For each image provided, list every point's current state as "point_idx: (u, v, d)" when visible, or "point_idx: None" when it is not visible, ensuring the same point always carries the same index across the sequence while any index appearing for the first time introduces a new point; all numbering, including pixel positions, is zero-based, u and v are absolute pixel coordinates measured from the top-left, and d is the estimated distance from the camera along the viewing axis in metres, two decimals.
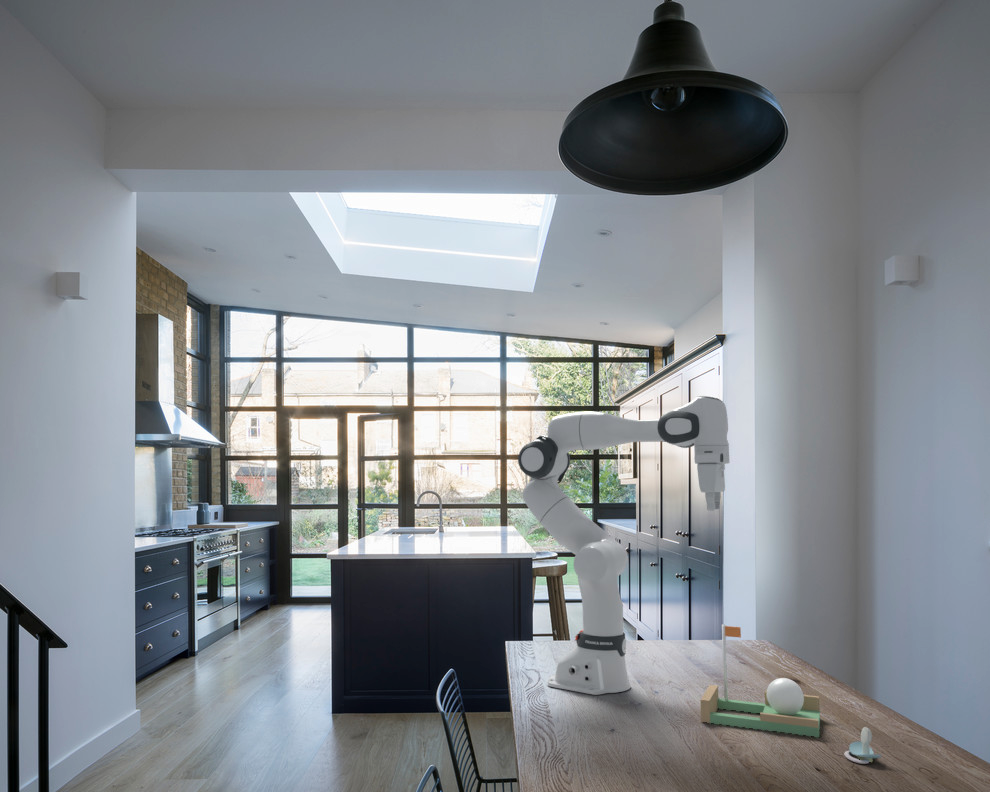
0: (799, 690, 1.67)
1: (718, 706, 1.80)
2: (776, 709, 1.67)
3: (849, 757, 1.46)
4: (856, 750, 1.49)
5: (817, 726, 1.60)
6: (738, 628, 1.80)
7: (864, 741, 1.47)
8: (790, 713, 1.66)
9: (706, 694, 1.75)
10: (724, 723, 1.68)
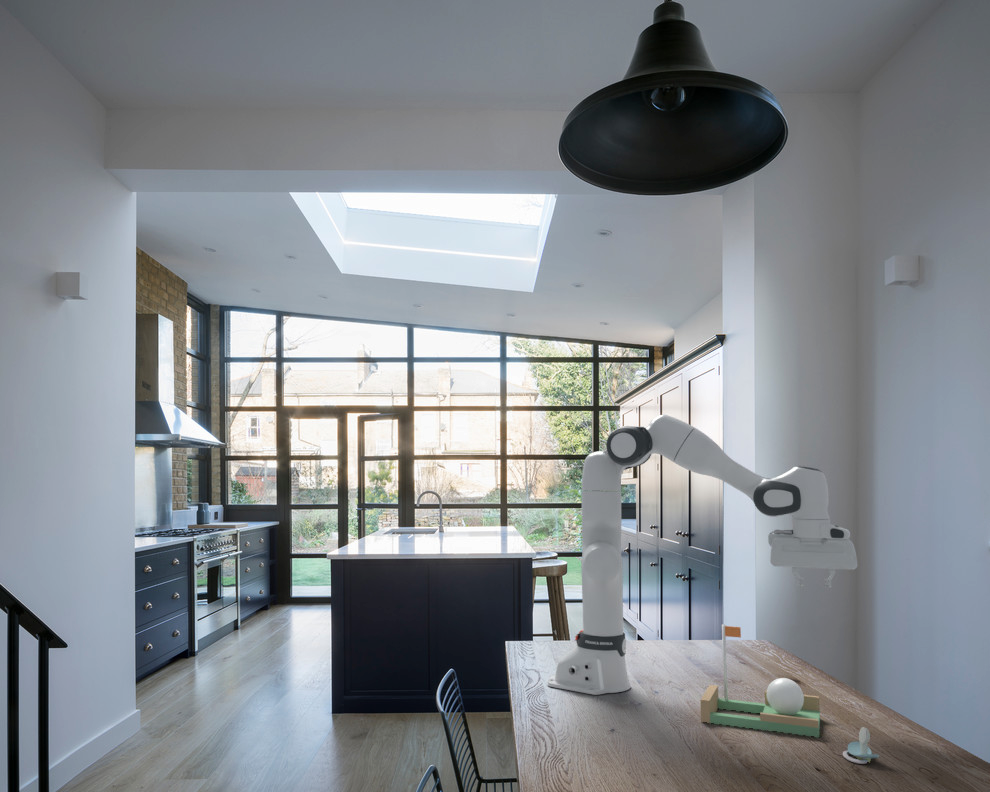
0: (799, 690, 1.67)
1: (718, 706, 1.80)
2: (776, 709, 1.67)
3: (847, 757, 1.46)
4: (854, 750, 1.49)
5: (817, 726, 1.60)
6: (738, 628, 1.80)
7: (862, 741, 1.47)
8: (790, 713, 1.66)
9: (706, 694, 1.75)
10: (724, 723, 1.68)
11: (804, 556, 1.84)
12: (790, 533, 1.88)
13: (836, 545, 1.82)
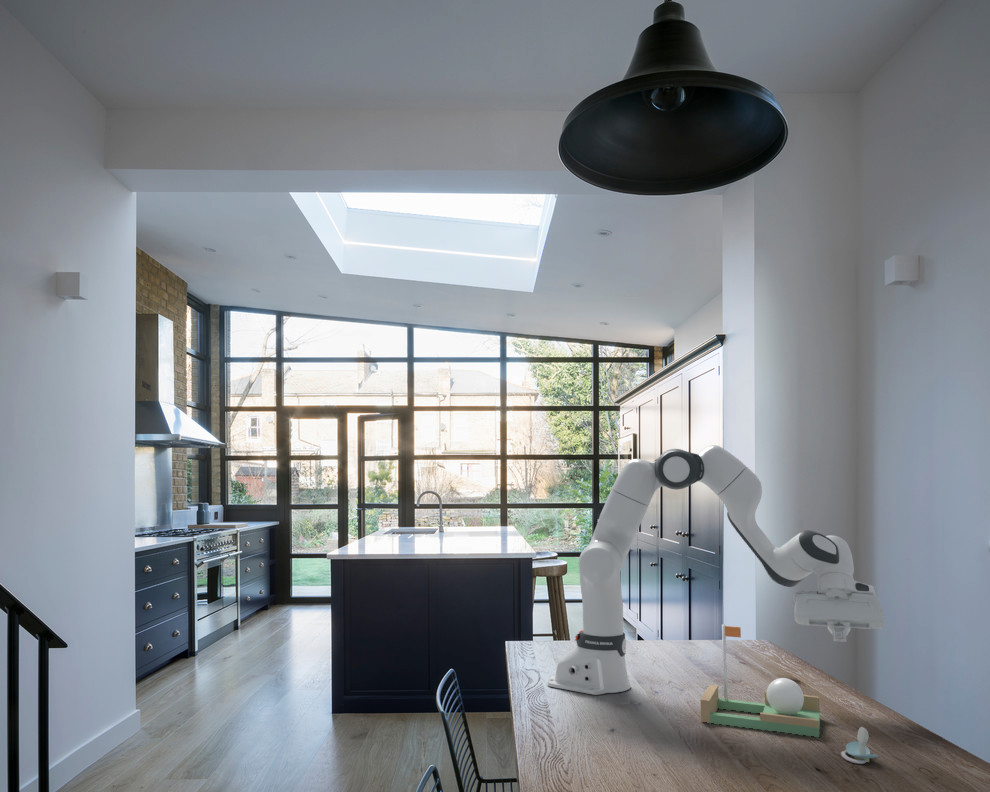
0: (799, 690, 1.67)
1: (718, 706, 1.80)
2: (776, 709, 1.67)
3: (846, 757, 1.46)
4: (853, 750, 1.49)
5: (817, 726, 1.60)
6: (738, 628, 1.80)
7: (861, 741, 1.47)
8: (790, 713, 1.66)
9: (706, 694, 1.75)
10: (724, 723, 1.68)
11: (829, 609, 1.82)
12: (815, 593, 1.88)
13: (862, 600, 1.81)
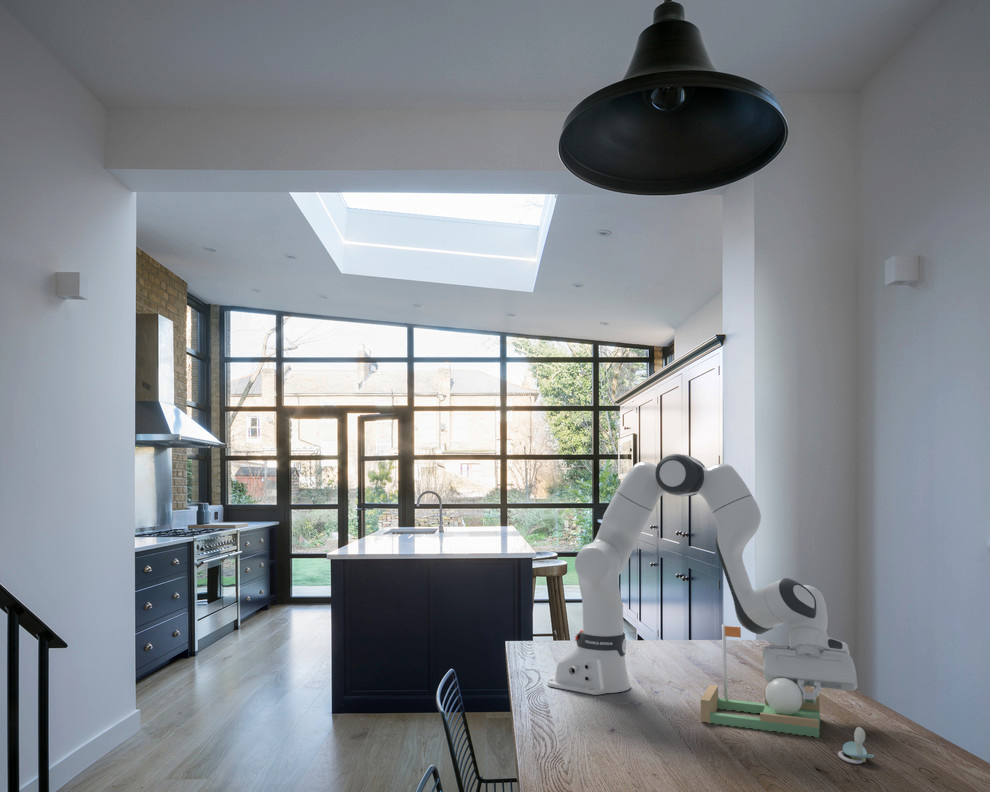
0: (797, 689, 1.67)
1: (718, 706, 1.80)
2: (776, 709, 1.67)
3: (842, 757, 1.46)
4: (849, 750, 1.49)
5: (817, 726, 1.60)
6: (738, 628, 1.80)
7: (857, 741, 1.47)
8: (789, 712, 1.66)
9: (706, 694, 1.75)
10: (724, 723, 1.68)
11: (800, 667, 1.72)
12: (786, 648, 1.78)
13: (834, 658, 1.71)
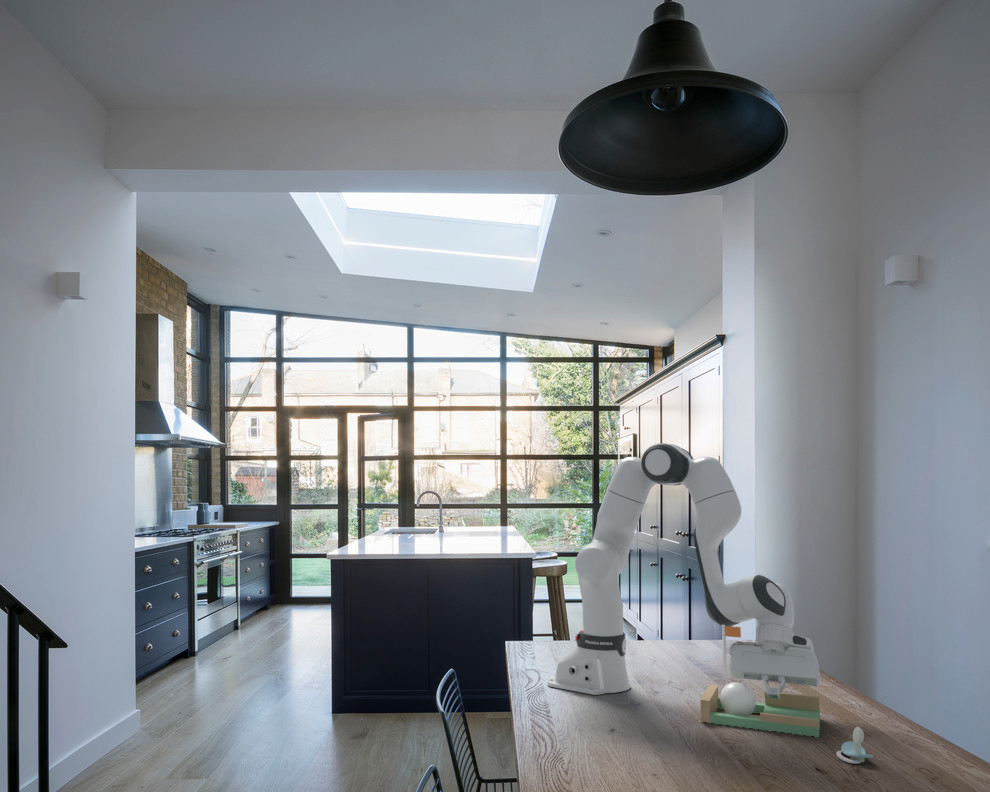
0: None
1: (718, 706, 1.80)
2: (747, 697, 1.70)
3: (841, 757, 1.46)
4: (848, 750, 1.49)
5: (817, 726, 1.60)
6: (738, 628, 1.80)
7: (856, 741, 1.47)
8: (736, 689, 1.71)
9: (706, 694, 1.75)
10: (724, 723, 1.68)
11: (765, 663, 1.75)
12: (752, 645, 1.81)
13: (798, 654, 1.74)
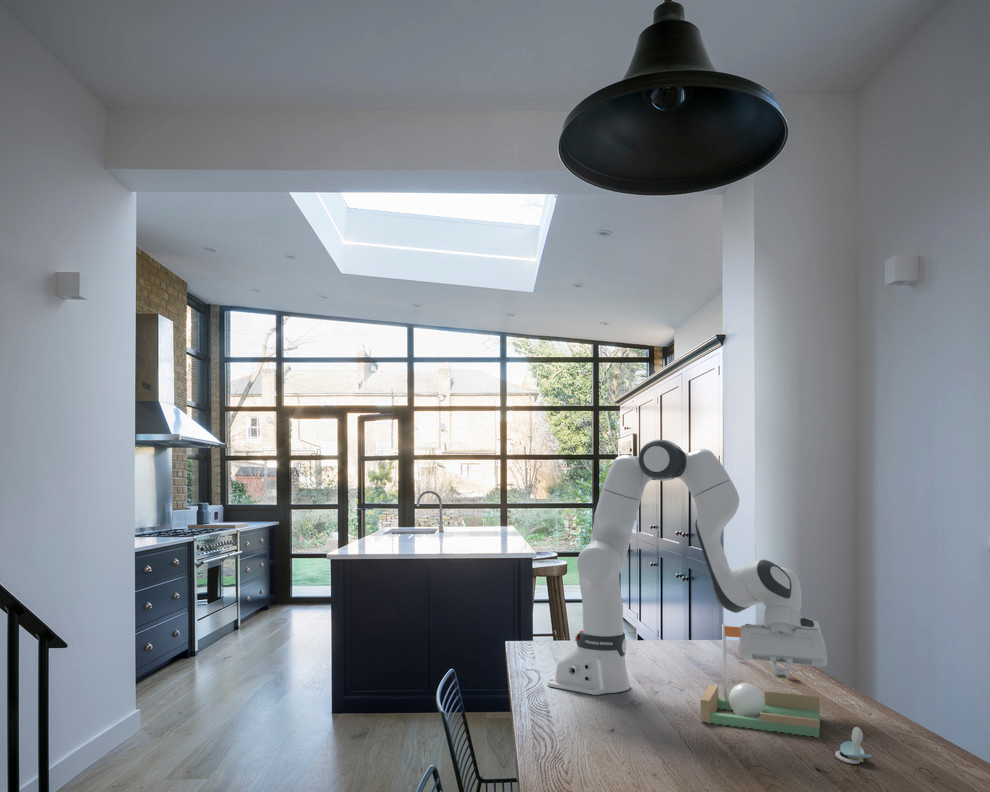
0: (730, 695, 1.73)
1: (718, 706, 1.80)
2: (759, 705, 1.69)
3: (840, 757, 1.46)
4: (847, 750, 1.49)
5: (817, 726, 1.60)
6: (738, 628, 1.80)
7: (855, 741, 1.47)
8: (751, 692, 1.70)
9: (706, 694, 1.75)
10: (724, 723, 1.68)
11: (773, 644, 1.79)
12: (761, 627, 1.85)
13: (806, 636, 1.78)
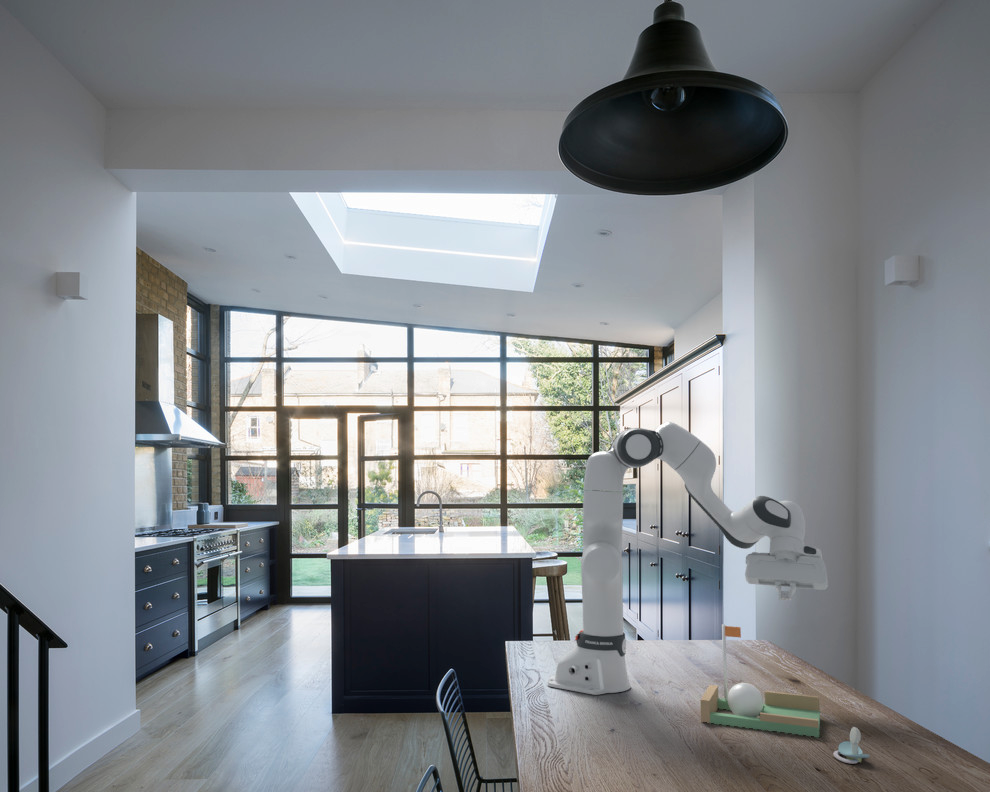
0: (728, 696, 1.73)
1: (718, 706, 1.80)
2: (757, 703, 1.69)
3: (838, 757, 1.46)
4: (845, 750, 1.49)
5: (817, 726, 1.60)
6: (738, 628, 1.80)
7: (853, 741, 1.47)
8: (749, 692, 1.70)
9: (706, 694, 1.75)
10: (724, 723, 1.68)
11: (778, 570, 1.93)
12: (766, 555, 1.99)
13: (808, 562, 1.92)
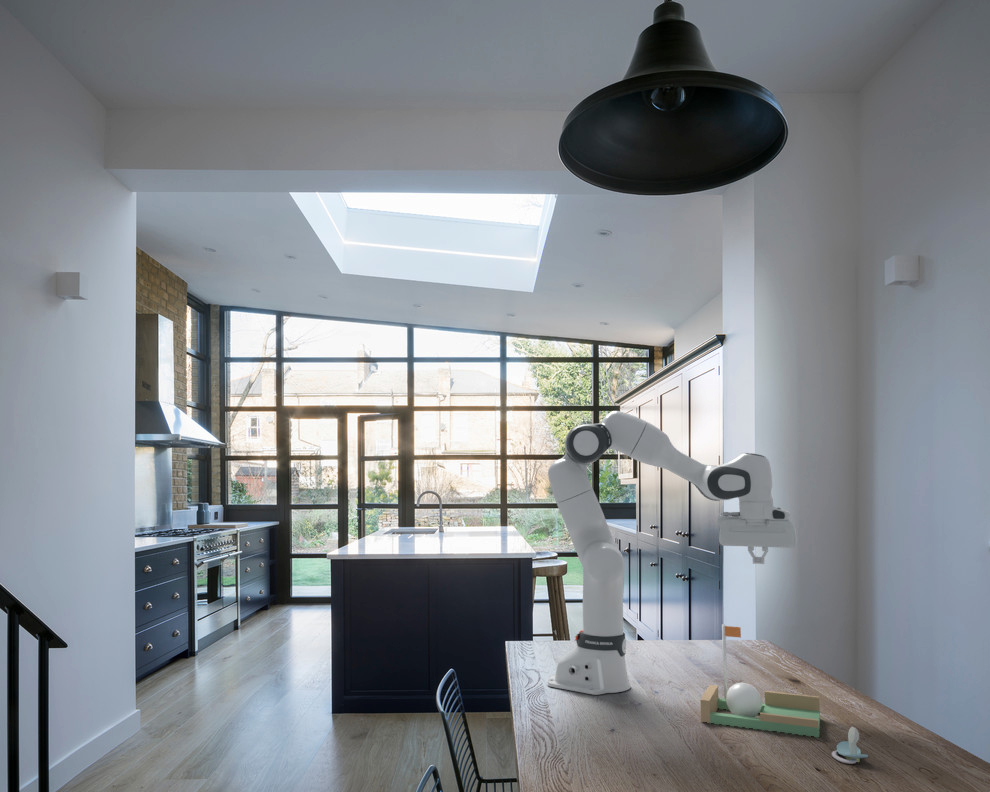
0: (726, 697, 1.73)
1: (718, 706, 1.80)
2: (755, 702, 1.69)
3: (836, 757, 1.46)
4: (843, 750, 1.49)
5: (817, 726, 1.60)
6: (738, 628, 1.80)
7: (851, 741, 1.47)
8: (746, 691, 1.70)
9: (706, 694, 1.75)
10: (724, 723, 1.68)
11: (749, 536, 2.00)
12: (737, 515, 2.03)
13: (778, 525, 1.97)
